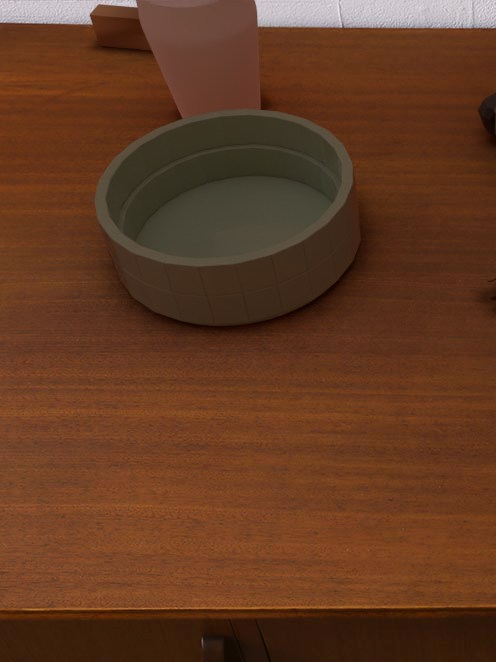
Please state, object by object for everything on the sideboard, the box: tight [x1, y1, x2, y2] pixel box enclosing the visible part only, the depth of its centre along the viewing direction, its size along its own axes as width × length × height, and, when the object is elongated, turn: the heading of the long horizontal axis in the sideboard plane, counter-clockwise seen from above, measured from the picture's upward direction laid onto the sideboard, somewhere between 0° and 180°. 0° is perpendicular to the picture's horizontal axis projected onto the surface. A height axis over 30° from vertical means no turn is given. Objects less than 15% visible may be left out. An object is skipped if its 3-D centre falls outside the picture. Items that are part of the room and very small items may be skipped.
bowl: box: [93, 109, 362, 327], centre depth 72 cm, size 18×18×6 cm
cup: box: [135, 0, 262, 119], centre depth 82 cm, size 9×9×12 cm
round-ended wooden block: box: [89, 3, 152, 52], centre depth 92 cm, size 10×3×3 cm, turn 82°
